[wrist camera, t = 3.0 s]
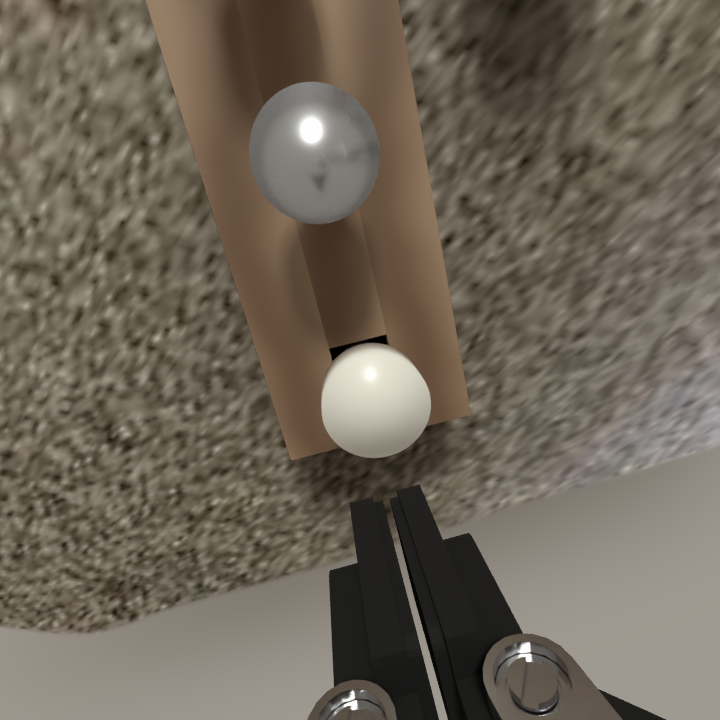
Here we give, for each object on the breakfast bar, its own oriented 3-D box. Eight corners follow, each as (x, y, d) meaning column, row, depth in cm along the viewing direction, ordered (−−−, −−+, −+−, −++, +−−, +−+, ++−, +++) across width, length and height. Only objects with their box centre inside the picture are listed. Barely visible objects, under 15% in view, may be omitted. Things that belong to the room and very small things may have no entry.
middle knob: (349, 123, 22) (364, 67, 14) (369, 214, 23) (392, 207, 16) (262, 144, 22) (231, 99, 14) (287, 235, 23) (270, 237, 16)
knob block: (346, -122, 22) (355, -246, 16) (442, 379, 30) (470, 414, 24) (148, -75, 22) (87, -185, 16) (297, 416, 30) (291, 460, 24)
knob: (390, 309, 25) (419, 343, 17) (405, 381, 26) (439, 443, 18) (312, 328, 25) (308, 370, 17) (332, 400, 26) (336, 469, 18)
